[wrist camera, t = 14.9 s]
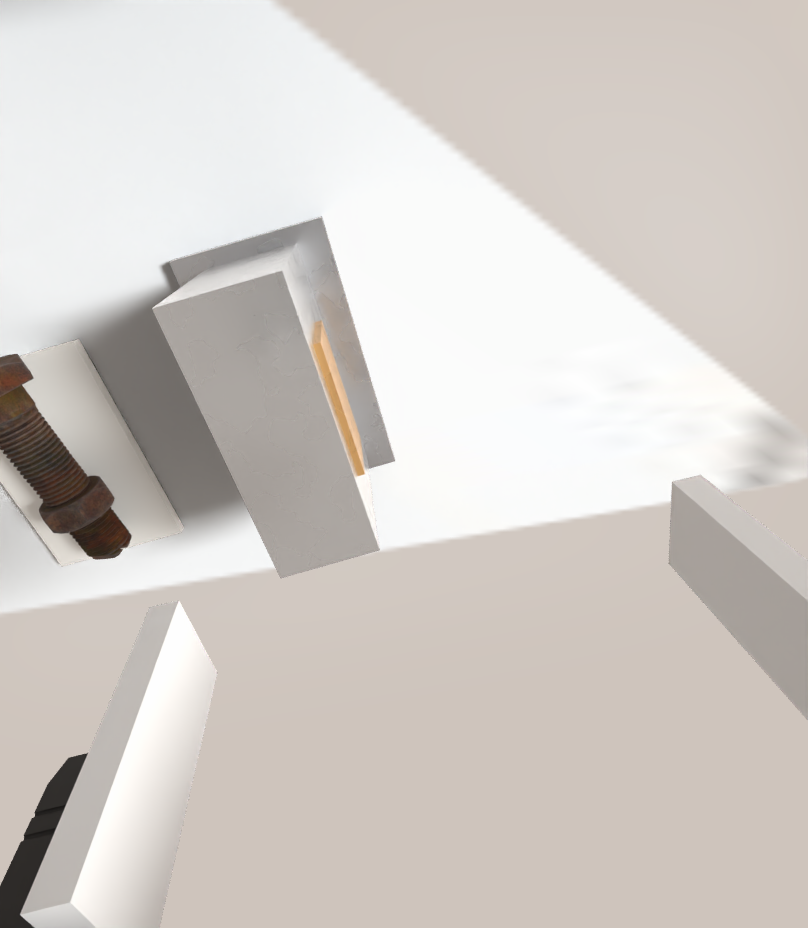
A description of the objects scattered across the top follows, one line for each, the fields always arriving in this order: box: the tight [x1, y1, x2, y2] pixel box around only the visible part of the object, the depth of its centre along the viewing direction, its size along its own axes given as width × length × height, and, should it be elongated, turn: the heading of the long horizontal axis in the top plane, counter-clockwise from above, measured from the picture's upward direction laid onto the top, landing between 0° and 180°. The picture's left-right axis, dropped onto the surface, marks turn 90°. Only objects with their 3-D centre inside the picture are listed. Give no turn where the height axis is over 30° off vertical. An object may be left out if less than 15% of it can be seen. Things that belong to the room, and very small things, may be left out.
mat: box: [0, 339, 184, 567], centre depth 40 cm, size 16×10×1 cm, turn 15°
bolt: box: [0, 354, 132, 559], centre depth 37 cm, size 6×5×15 cm
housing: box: [152, 216, 395, 578], centre depth 33 cm, size 18×10×13 cm, turn 14°
